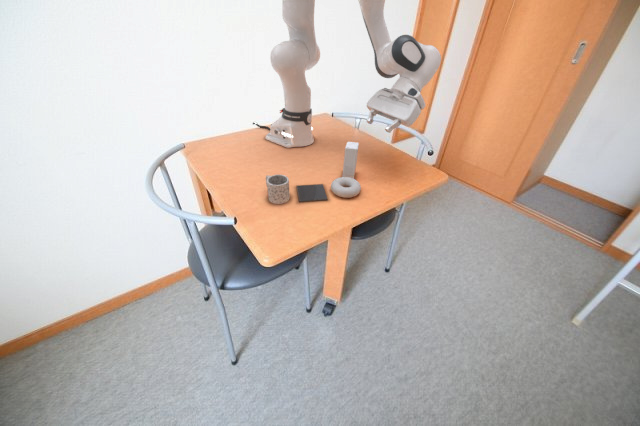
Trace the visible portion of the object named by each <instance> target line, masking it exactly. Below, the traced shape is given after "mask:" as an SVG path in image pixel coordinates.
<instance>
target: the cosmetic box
mask: <svg viewBox="0 0 640 426" xmlns="http://www.w3.org/2000/svg"><path fill="white" fill-rule="evenodd" d="M359 147H360V142H355V141H347V142H346V144H345V147H344V155H343V166H342V176H341V177H349V178H353V179H355V175H356V169H357V162H358V155H359V154H358V153H359Z"/></svg>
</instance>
